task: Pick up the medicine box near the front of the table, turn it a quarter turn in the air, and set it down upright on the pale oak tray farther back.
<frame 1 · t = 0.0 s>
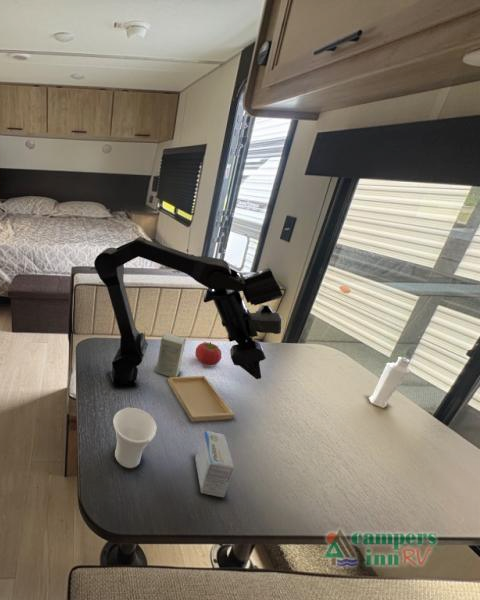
hand: (256, 367, 72), 15 cm above the table, tool tilted 35°, fingers open, 9 cm apart
holder: (197, 398, 83), on the table
medicine box: (207, 478, 62), on the table
cup: (129, 457, 65), on the table
perfume bottle: (377, 402, 86), on the table
tomato: (205, 362, 99), on the table
cosmetic box: (167, 372, 93), on the table
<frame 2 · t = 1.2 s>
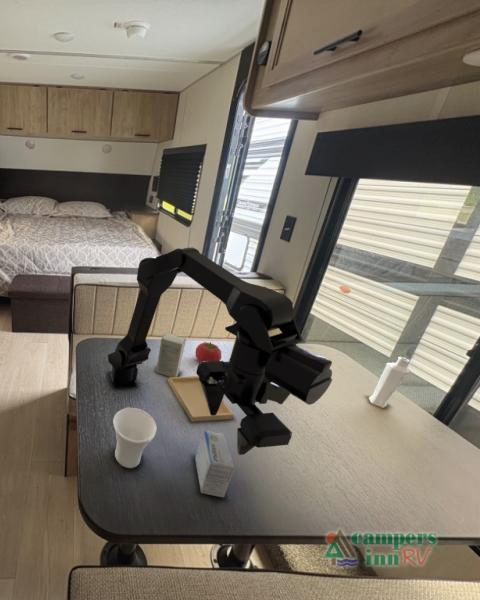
hand: (226, 432, 57), 12 cm above the table, tool pointing down, fingers open, 9 cm apart
nothing on the table moved.
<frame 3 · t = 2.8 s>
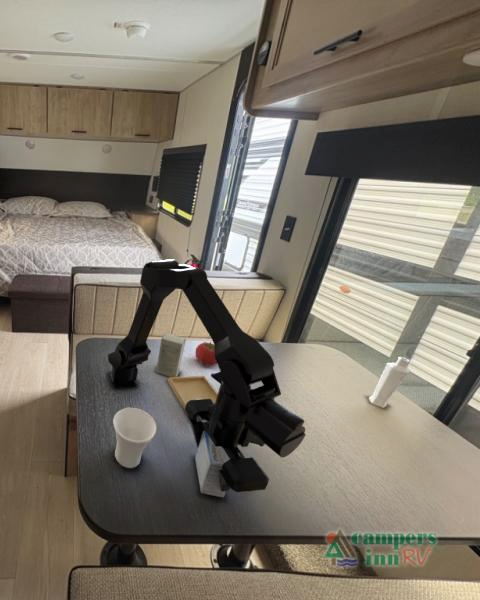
hand: (211, 468, 61), 3 cm above the table, tool pointing down, fingers closed on medicine box, 9 cm apart
medicine box: (207, 478, 62), on the table, touching gripper
everything else where it was.
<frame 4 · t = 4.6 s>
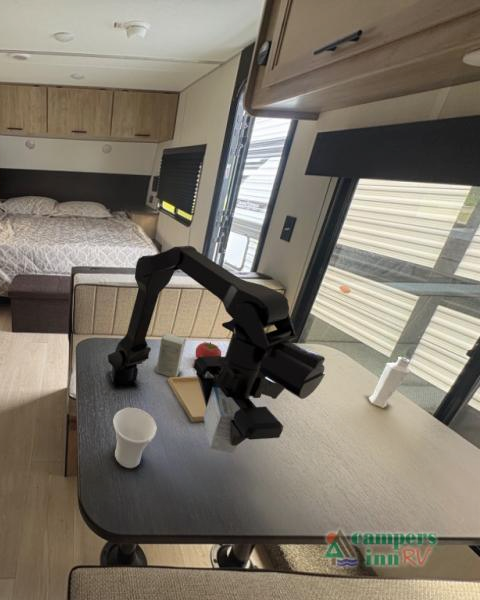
hand: (220, 425, 59), 12 cm above the table, tool pointing down, fingers closed on medicine box, 9 cm apart
medicine box: (216, 435, 60), point 9 cm above the table, touching gripper
everything else where it was.
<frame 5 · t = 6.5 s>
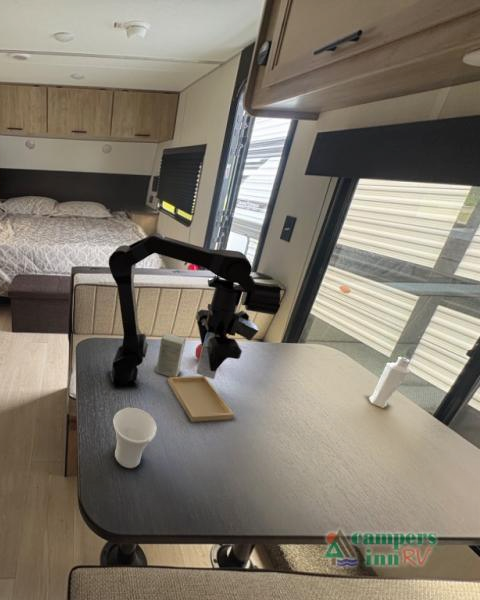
hand: (208, 360, 77), 13 cm above the table, tool pointing down, fingers closed on medicine box, 9 cm apart
medicine box: (206, 369, 79), point 10 cm above the table, touching gripper
everything else where it was.
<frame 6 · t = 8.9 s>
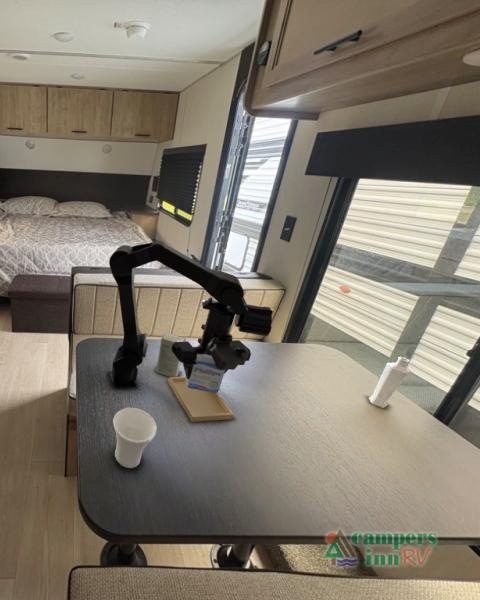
hand: (203, 377, 80), 7 cm above the table, tool pointing down, fingers closed on medicine box, 9 cm apart
medicine box: (200, 386, 81), point 4 cm above the table, touching gripper
everything else where it was.
when the fingers open (3 cm above the table, at t = 10.6 s): medicine box stays where it is, resting on holder.
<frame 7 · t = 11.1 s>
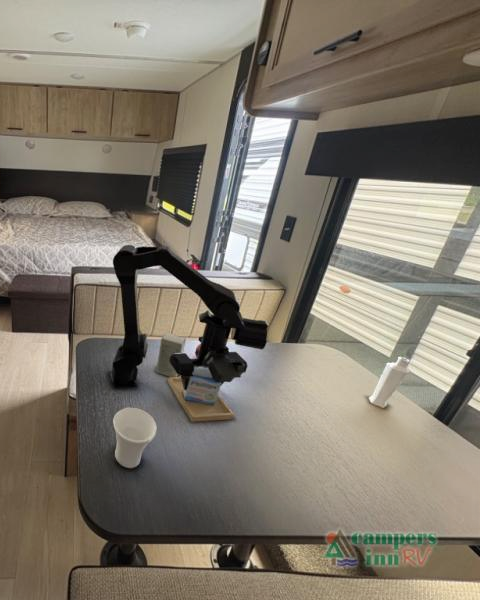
hand: (200, 388, 81), 4 cm above the table, tool pointing down, fingers open, 9 cm apart
medicine box: (197, 398, 83), resting on holder
everything else where it was.
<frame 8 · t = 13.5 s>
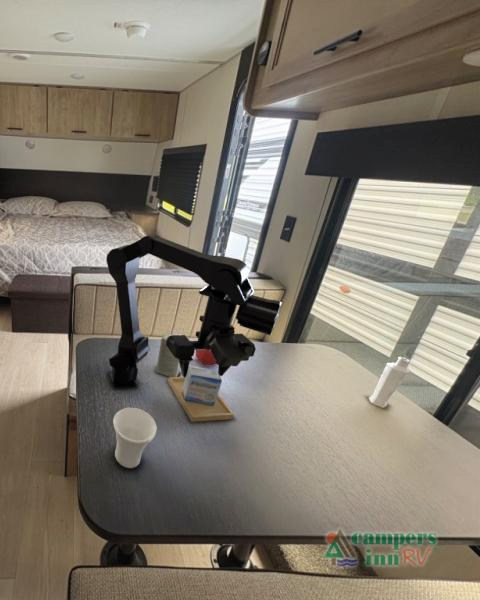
hand: (202, 375, 71), 13 cm above the table, tool pointing down, fingers open, 9 cm apart
nothing on the table moved.
at the end: medicine box inside the target area in the holder (0.1 cm from its centre), point 0.2 cm above the holder's base; medicine box tilted 0°; medicine box moved 23.7 cm from its start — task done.
